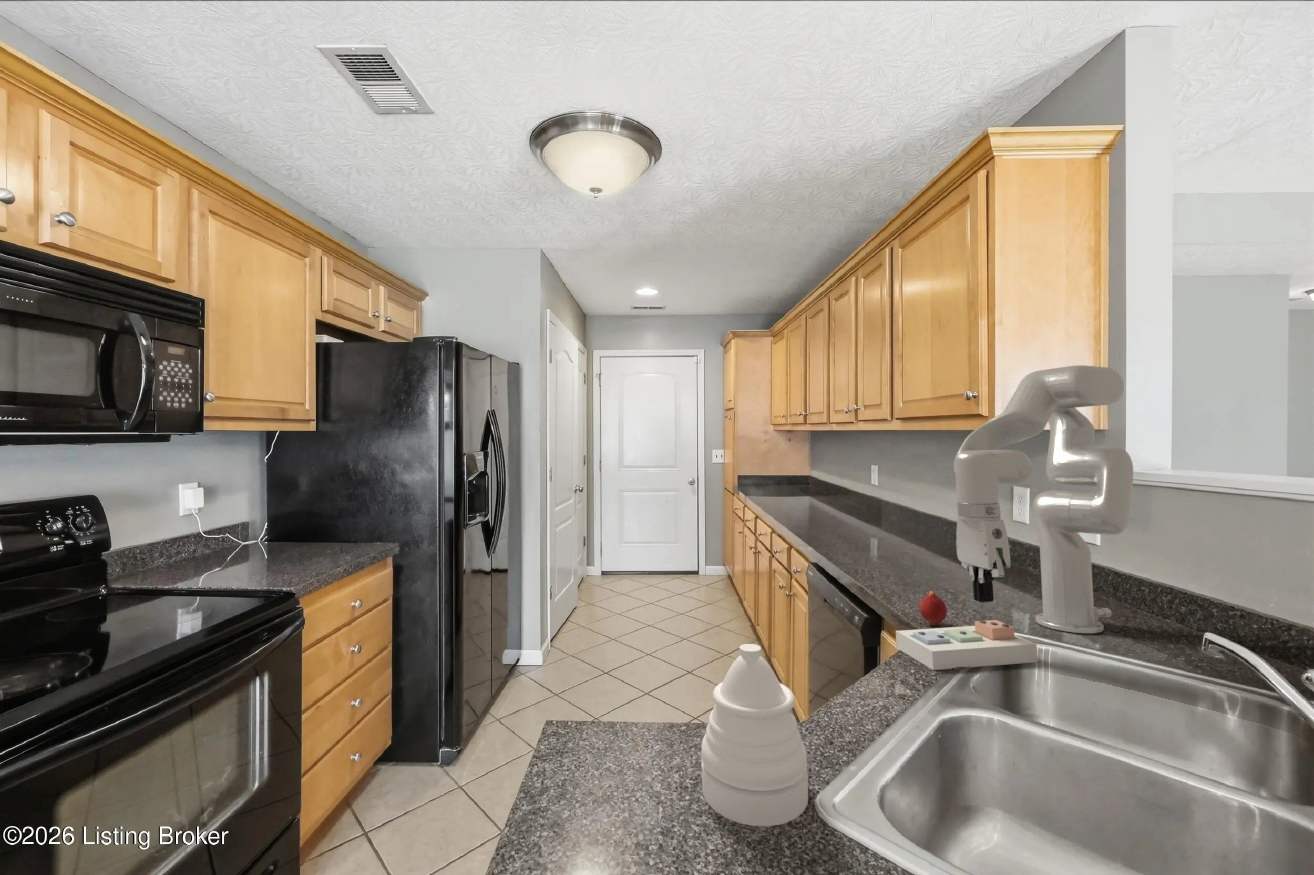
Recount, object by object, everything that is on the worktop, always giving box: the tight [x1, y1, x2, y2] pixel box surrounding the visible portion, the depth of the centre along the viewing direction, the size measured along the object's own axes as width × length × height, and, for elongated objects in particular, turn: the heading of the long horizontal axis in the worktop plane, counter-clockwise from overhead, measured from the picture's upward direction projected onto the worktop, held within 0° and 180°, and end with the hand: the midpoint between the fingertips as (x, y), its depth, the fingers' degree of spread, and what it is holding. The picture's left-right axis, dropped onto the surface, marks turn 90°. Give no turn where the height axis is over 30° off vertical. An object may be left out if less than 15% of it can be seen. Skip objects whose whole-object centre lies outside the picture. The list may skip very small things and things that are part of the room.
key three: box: [974, 619, 1015, 641], centre depth 108 cm, size 5×5×3 cm
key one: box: [944, 629, 983, 643], centre depth 107 cm, size 5×5×3 cm
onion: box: [919, 590, 948, 626], centre depth 125 cm, size 6×6×8 cm
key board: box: [895, 625, 1038, 671], centre depth 107 cm, size 22×12×4 cm, turn 97°
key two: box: [913, 631, 950, 645], centre depth 106 cm, size 5×5×3 cm
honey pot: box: [700, 643, 809, 827], centre depth 65 cm, size 13×13×18 cm
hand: (983, 600), depth 108 cm, fingers closed
